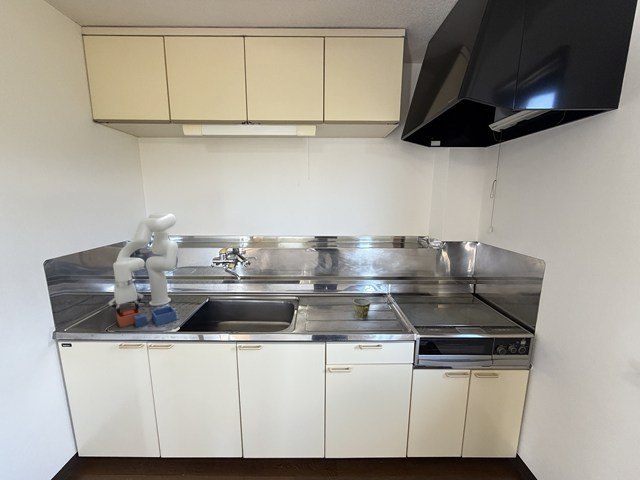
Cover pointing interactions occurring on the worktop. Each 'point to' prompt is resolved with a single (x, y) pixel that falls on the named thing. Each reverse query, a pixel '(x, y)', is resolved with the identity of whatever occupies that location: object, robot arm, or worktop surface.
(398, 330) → the worktop surface
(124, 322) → the red bin
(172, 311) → the blue bin
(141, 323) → the blue block
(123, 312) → the red block
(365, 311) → the ceramic cup
